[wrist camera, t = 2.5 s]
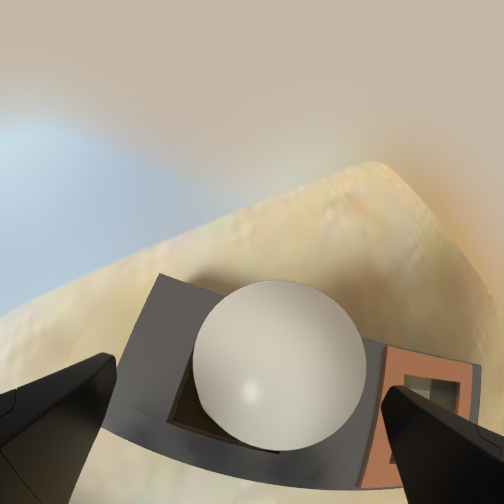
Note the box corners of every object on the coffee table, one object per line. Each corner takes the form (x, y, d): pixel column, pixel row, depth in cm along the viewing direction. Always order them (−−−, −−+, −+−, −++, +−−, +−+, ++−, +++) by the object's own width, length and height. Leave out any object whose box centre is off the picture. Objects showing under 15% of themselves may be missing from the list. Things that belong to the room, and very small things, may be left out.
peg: (256, 432, 14) (348, 460, 5) (189, 413, 14) (166, 419, 5) (274, 371, 16) (373, 306, 7) (211, 352, 16) (226, 259, 7)
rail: (441, 475, 12) (470, 475, 9) (113, 422, 12) (93, 424, 10) (456, 374, 17) (483, 363, 14) (165, 294, 17) (159, 270, 15)
